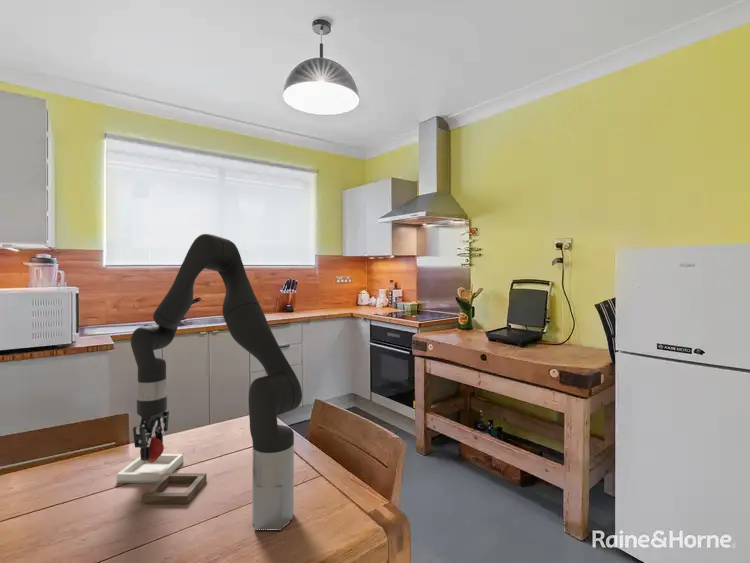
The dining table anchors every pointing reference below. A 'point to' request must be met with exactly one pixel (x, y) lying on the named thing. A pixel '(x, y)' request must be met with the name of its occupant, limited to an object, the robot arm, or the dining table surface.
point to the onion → (155, 449)
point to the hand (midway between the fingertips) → (152, 454)
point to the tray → (149, 469)
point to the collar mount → (174, 498)
